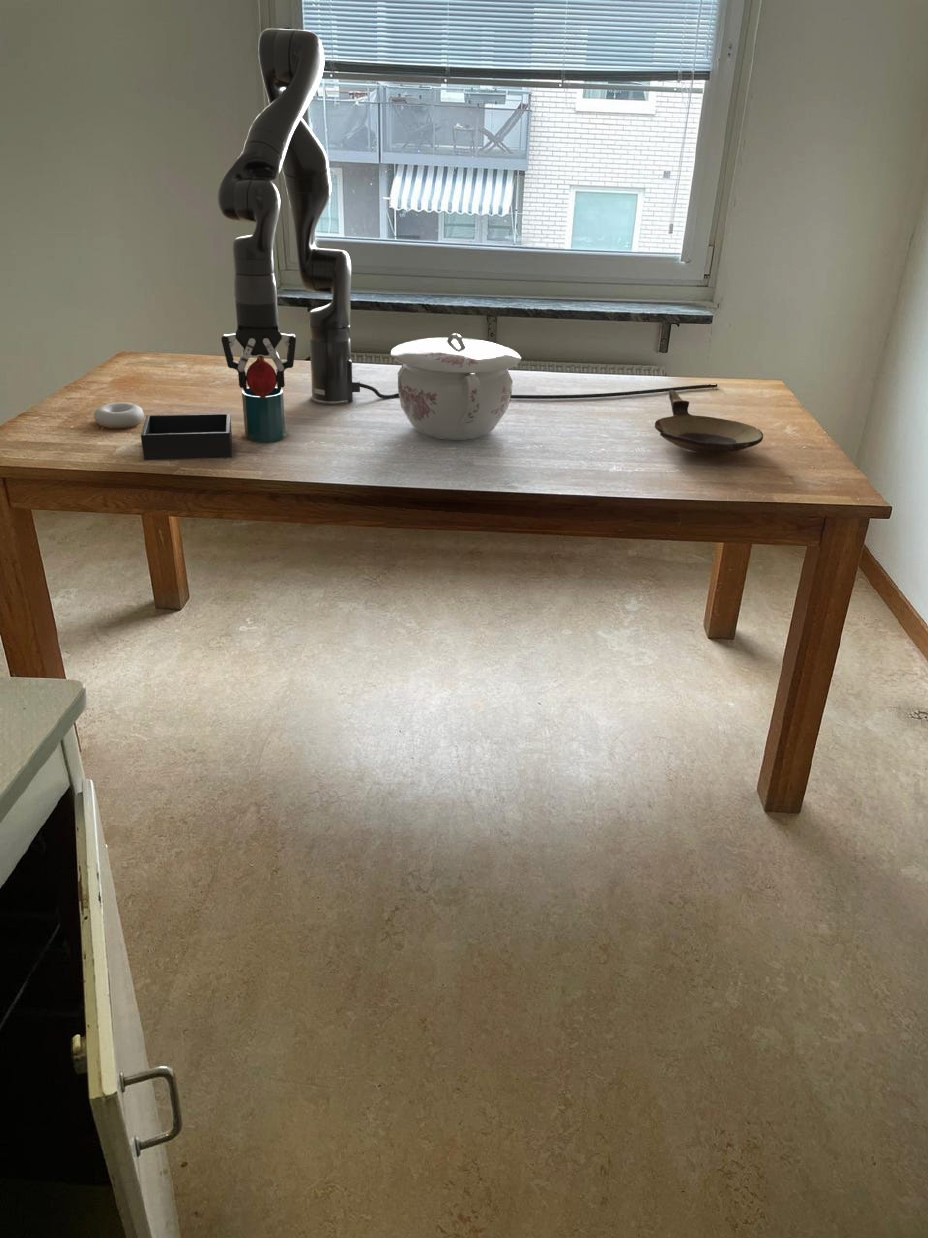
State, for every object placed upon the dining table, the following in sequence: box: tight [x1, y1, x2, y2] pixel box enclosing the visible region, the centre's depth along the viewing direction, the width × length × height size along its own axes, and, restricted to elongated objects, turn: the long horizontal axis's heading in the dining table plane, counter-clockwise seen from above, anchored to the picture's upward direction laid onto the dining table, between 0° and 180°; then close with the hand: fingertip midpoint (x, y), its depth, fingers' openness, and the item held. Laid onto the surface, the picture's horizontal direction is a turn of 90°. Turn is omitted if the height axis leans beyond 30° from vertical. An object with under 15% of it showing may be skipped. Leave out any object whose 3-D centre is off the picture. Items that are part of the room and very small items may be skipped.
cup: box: [241, 386, 286, 444], centre depth 185 cm, size 8×8×10 cm
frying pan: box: [654, 390, 764, 454], centre depth 192 cm, size 22×30×8 cm
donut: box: [93, 402, 145, 429], centre depth 189 cm, size 10×3×10 cm
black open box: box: [140, 413, 233, 461], centre depth 178 cm, size 16×12×5 cm
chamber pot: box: [390, 332, 522, 441], centre depth 190 cm, size 28×28×21 cm
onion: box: [246, 355, 277, 398], centre depth 171 cm, size 6×6×8 cm
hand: (262, 389), depth 172 cm, fingers closed on onion, 6 cm apart
